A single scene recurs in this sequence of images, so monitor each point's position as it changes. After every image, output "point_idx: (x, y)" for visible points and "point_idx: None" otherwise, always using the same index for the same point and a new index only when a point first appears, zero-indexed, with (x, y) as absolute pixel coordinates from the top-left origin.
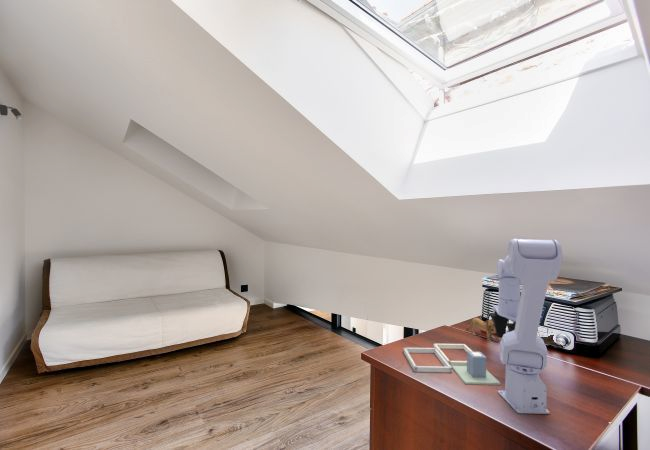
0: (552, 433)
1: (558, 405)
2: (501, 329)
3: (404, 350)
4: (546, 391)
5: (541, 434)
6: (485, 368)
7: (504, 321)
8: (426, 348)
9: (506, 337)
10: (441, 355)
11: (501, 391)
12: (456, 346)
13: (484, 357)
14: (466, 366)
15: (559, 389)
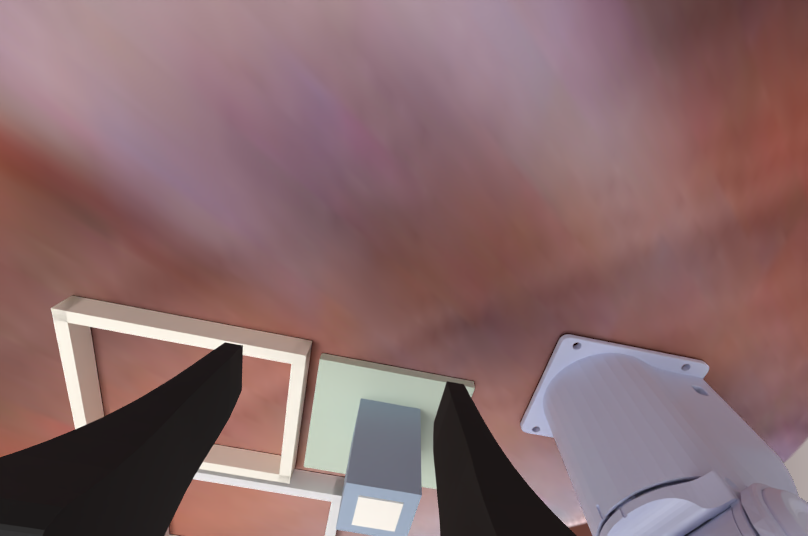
0: (764, 426)
1: (686, 278)
2: (202, 426)
3: None
4: (771, 450)
5: None
6: (419, 444)
7: (138, 489)
8: None
9: None
10: (224, 478)
11: (532, 424)
12: (81, 350)
13: (418, 502)
14: (316, 423)
15: (601, 142)
